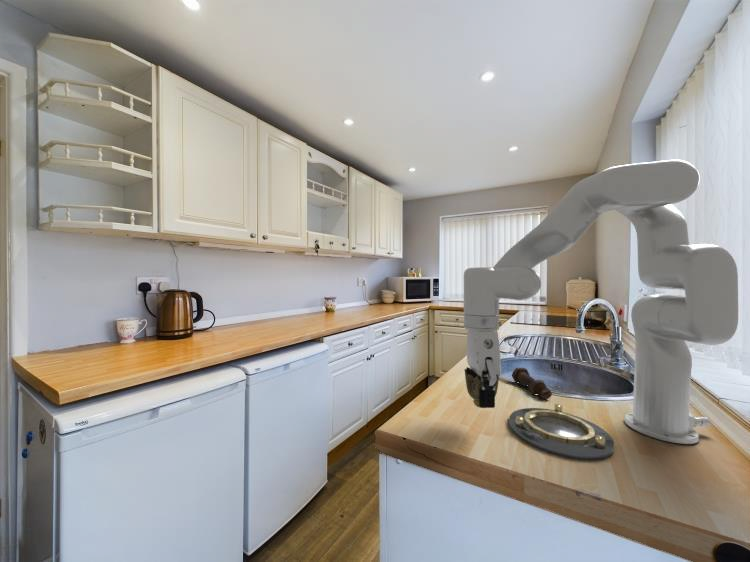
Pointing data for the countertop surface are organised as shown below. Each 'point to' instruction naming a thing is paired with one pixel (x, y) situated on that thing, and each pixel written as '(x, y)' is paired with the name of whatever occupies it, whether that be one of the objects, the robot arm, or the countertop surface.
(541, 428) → the carrier plate
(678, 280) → the robot arm
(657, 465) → the countertop surface
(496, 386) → the dark hollow rounded piece
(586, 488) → the countertop surface
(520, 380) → the bolt
